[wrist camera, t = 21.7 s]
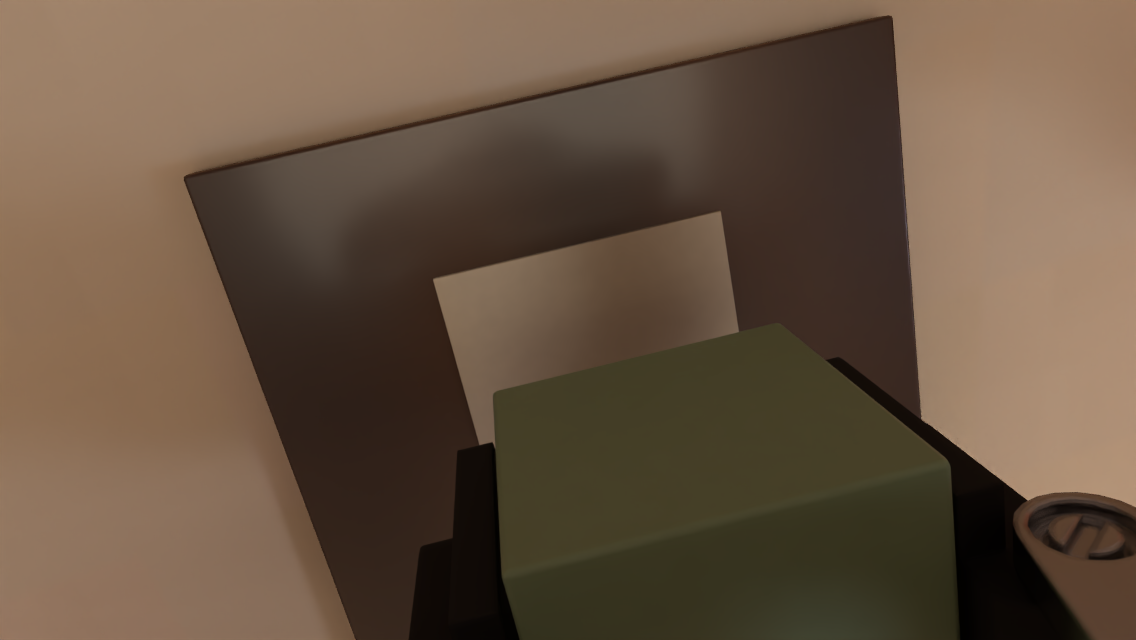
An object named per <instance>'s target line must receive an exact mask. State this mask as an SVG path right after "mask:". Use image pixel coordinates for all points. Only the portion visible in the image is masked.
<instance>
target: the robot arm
mask: <svg viewBox="0 0 1136 640" xmlns="http://www.w3.org/2000/svg"><path fill="white" fill-rule="evenodd" d="M826 361H827V362H828V363H829V364H831V365H832V366H833V367H834V368H836V369H837V370H838V371H839V372H840V373H842V374H843V375H844V376H845V377H847V378H848V379H849V380H850V381H852V382H853V383H854V384H855V385H856V386H858V387H859V388H860V389H861V390H863V391H864V392H865V393H866V394H868V395H869V396H870V397H871V398H872V399H874V400H875V401H876V402H877V403H879V404H880V405H881V406H882V407H884V408H885V409H886V410H887V411H888V412H890V413H891V414H892V415H893V416H895V417H896V418H897V419H898V420H900V421H901V422H902V423H903V424H904V425H906V426H907V427H908V428H909V429H911V430H912V431H913V432H914V433H916V434H917V435H918V436H919V437H920V438H922V439H923V440H924V441H925V442H927V443H928V444H929V445H930V446H932V447H933V448H934V449H935V450H937V451H938V452H939V453H940V454H941V455H943V456H944V457H945V458H946V459H947V460H948V462H949V464H950V467H951V484H952V502H953V519H954V537H955V554H956V572H957V589H958V607H959V624H960V640H1136V507H1134V506H1132V505H1129V504H1127V503H1125V502H1123V501H1120V500H1116V499H1112V498H1109V497H1105V496H1101V495H1096V494H1087V493H1079V492H1064V493H1052V494H1047V495H1042V496H1037V497H1035V498H1033V499H1031V500H1029V501H1027V500H1026V499H1025V498H1024V497H1022V496H1021V495H1020V494H1018V493H1017V492H1016V491H1014V490H1013V489H1012V488H1011V487H1009V486H1008V485H1007V484H1005V483H1004V482H1003V481H1001V480H1000V479H999V478H998V477H996V476H995V475H994V474H992V473H991V472H990V471H989V470H987V469H986V468H985V467H983V466H982V465H981V464H979V463H978V462H977V461H976V460H974V459H973V458H972V457H970V456H969V455H968V454H966V453H965V452H964V451H963V450H961V449H960V448H959V447H957V446H956V445H955V444H953V443H952V442H951V441H950V440H948V439H947V438H946V437H944V436H943V435H942V434H941V433H939V432H938V431H937V430H935V429H934V428H933V427H931V426H930V425H928V424H926V423H925V422H924V421H922V420H921V419H920V418H918V417H917V416H916V415H915V414H913V413H912V412H911V411H909V410H908V409H907V408H905V407H904V406H903V405H902V404H900V403H899V402H898V401H896V400H895V399H894V398H893V397H891V396H890V395H889V394H887V393H886V392H885V391H884V390H882V389H881V388H880V387H878V386H877V385H876V384H874V383H873V382H872V381H871V380H869V379H868V378H867V377H865V376H864V375H863V374H862V373H860V372H859V371H858V370H856V369H855V368H854V367H852V366H851V365H850V364H849V363H847V362H846V361H845V360H843V359H842V358H840V357H836V358H831V359H827V360H826ZM409 640H520V639H519V635H518V632H517V628H516V625H515V621H514V618H513V614H512V611H511V607H510V604H509V601H508V597H507V594H506V590H505V587H504V583H503V580H502V572H501V552H500V532H499V512H498V492H497V472H496V452H495V447H494V444H493V442H490V443H486V444H482V445H478V446H474V447H470V448H466V449H462V450H458V451H457V463H456V482H455V501H454V520H453V538H451V539H447V540H443V541H439V542H435V543H431V544H427V545H423V546H422V547H420V551H419V557H418V565H417V574H416V582H415V590H414V598H413V607H412V615H411V623H410V631H409Z"/></svg>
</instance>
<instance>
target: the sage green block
mask: <svg viewBox="0 0 1136 640" xmlns="http://www.w3.org/2000/svg"><path fill="white" fill-rule="evenodd" d="M493 412H494V432H495V452H496V472H497V492H498V512H499V532H500V552H501V572H502V580H503V583H504V587H505V590H506V594H507V597H508V601H509V604H510V607H511V611H512V614H513V618H514V621H515V625H516V628H517V632H518V635H519V639H520V640H960V624H959V607H958V589H957V572H956V554H955V537H954V519H953V502H952V484H951V467H950V464H949V462H948V460H947V459H946V458H945V457H944V456H943V455H941V454H940V453H939V452H938V451H937V450H935V449H934V448H933V447H932V446H930V445H929V444H928V443H927V442H925V441H924V440H923V439H922V438H920V437H919V436H918V435H917V434H916V433H914V432H913V431H912V430H911V429H909V428H908V427H907V426H906V425H904V424H903V423H902V422H901V421H900V420H898V419H897V418H896V417H895V416H893V415H892V414H891V413H890V412H888V411H887V410H886V409H885V408H884V407H882V406H881V405H880V404H879V403H877V402H876V401H875V400H874V399H872V398H871V397H870V396H869V395H868V394H866V393H865V392H864V391H863V390H861V389H860V388H859V387H858V386H856V385H855V384H854V383H853V382H852V381H850V380H849V379H848V378H847V377H845V376H844V375H843V374H842V373H840V372H839V371H838V370H837V369H836V368H834V367H833V366H832V365H831V364H829V363H828V362H827V361H826V360H824V359H823V358H822V357H821V356H820V355H818V354H817V353H816V352H815V351H813V350H812V349H811V348H810V347H808V346H807V345H806V344H805V343H804V342H802V341H801V340H800V339H799V338H797V337H796V336H795V335H794V334H792V333H791V332H790V331H789V330H788V329H786V328H785V327H784V326H783V325H781V324H779V323H774V324H770V325H766V326H762V327H758V328H753V329H749V330H745V331H741V332H737V333H733V334H729V335H725V336H721V337H717V338H712V339H708V340H704V341H700V342H696V343H692V344H688V345H684V346H680V347H675V348H671V349H667V350H663V351H659V352H655V353H651V354H647V355H643V356H639V357H634V358H630V359H626V360H622V361H618V362H614V363H610V364H606V365H602V366H597V367H593V368H589V369H585V370H581V371H577V372H573V373H569V374H565V375H560V376H556V377H552V378H548V379H544V380H540V381H536V382H532V383H528V384H524V385H519V386H515V387H511V388H507V389H503V390H499V391H496V392H495V393H493Z"/></svg>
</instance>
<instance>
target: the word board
mask: <svg viewBox="0 0 1136 640" xmlns="http://www.w3.org/2000/svg"><path fill="white" fill-rule="evenodd" d="M184 182H185V184H186V187H187V190H188V192H189V195H190V198H191V200H192V203H193V206H194V208H195V211H196V214H197V216H198V219H199V222H200V224H201V227H202V230H203V232H204V235H205V238H206V241H207V243H208V246H209V249H210V251H211V254H212V257H213V259H214V262H215V265H216V267H217V270H218V273H219V275H220V278H221V281H222V283H223V286H224V289H225V291H226V294H227V297H228V299H229V302H230V305H231V307H232V310H233V313H234V315H235V318H236V321H237V323H238V326H239V329H240V331H241V334H242V337H243V339H244V342H245V345H246V347H247V350H248V353H249V355H250V358H251V361H252V364H253V366H254V369H255V372H256V374H257V377H258V380H259V382H260V385H261V388H262V390H263V393H264V396H265V398H266V401H267V404H268V406H269V409H270V412H271V414H272V417H273V420H274V422H275V425H276V428H277V430H278V433H279V436H280V438H281V441H282V444H283V446H284V449H285V452H286V454H287V457H288V460H289V462H290V465H291V468H292V470H293V473H294V476H295V479H296V481H297V484H298V487H299V489H300V492H301V495H302V497H303V500H304V503H305V505H306V508H307V511H308V513H309V516H310V519H311V521H312V524H313V527H314V529H315V532H316V535H317V537H318V540H319V543H320V545H321V548H322V551H323V553H324V556H325V559H326V561H327V564H328V567H329V569H330V572H331V575H332V577H333V580H334V583H335V585H336V588H337V591H338V594H339V596H340V599H341V602H342V604H343V607H344V610H345V612H346V615H347V618H348V620H349V623H350V626H351V628H352V631H353V634H354V636H355V639H356V640H409V631H410V623H411V615H412V607H413V598H414V590H415V582H416V574H417V565H418V557H419V551H420V547H422V546H423V545H427V544H431V543H435V542H439V541H443V540H447V539H451V538H453V520H454V501H455V482H456V463H457V451H458V450H462V449H466V448H470V447H474V446H478V445H482V444H486V443H490V442H493V444H494V447H495V432H494V412H493V393H495V392H496V391H499V390H503V389H507V388H511V387H515V386H519V385H524V384H528V383H532V382H536V381H540V380H544V379H548V378H552V377H556V376H560V375H565V374H569V373H573V372H577V371H581V370H585V369H589V368H593V367H597V366H602V365H606V364H610V363H614V362H618V361H622V360H626V359H630V358H634V357H639V356H643V355H647V354H651V353H655V352H659V351H663V350H667V349H671V348H675V347H680V346H684V345H688V344H692V343H696V342H700V341H704V340H708V339H712V338H717V337H721V336H725V335H729V334H733V333H737V332H741V331H745V330H749V329H753V328H758V327H762V326H766V325H770V324H774V323H779V324H781V325H783V326H784V327H785V328H786V329H788V330H789V331H790V332H791V333H792V334H794V335H795V336H796V337H797V338H799V339H800V340H801V341H802V342H804V343H805V344H806V345H807V346H808V347H810V348H811V349H812V350H813V351H815V352H816V353H817V354H818V355H820V356H821V357H822V358H823V359H824V360H827V359H831V358H836V357H840V358H842V359H843V360H845V361H846V362H847V363H849V364H850V365H851V366H852V367H854V368H855V369H856V370H858V371H859V372H860V373H862V374H863V375H864V376H865V377H867V378H868V379H869V380H871V381H872V382H873V383H874V384H876V385H877V386H878V387H880V388H881V389H882V390H884V391H885V392H886V393H887V394H889V395H890V396H891V397H893V398H894V399H895V400H896V401H898V402H899V403H900V404H902V405H903V406H904V407H905V408H907V409H908V410H909V411H911V412H912V413H913V414H915V415H916V416H917V417H918V418H920V419H921V409H920V395H919V381H918V367H917V353H916V339H915V325H914V311H913V297H912V283H911V269H910V255H909V241H908V227H907V213H906V199H905V185H904V171H903V157H902V143H901V129H900V115H899V101H898V87H897V73H896V59H895V45H894V31H893V18H892V16H889V15H888V16H881V17H876V18H871V19H867V20H862V21H858V22H854V23H849V24H845V25H840V26H836V27H832V28H827V29H823V30H818V31H814V32H810V33H805V34H801V35H796V36H792V37H788V38H783V39H779V40H774V41H770V42H766V43H761V44H757V45H753V46H748V47H744V48H739V49H735V50H731V51H726V52H722V53H717V54H713V55H709V56H704V57H700V58H695V59H691V60H687V61H682V62H678V63H673V64H669V65H665V66H660V67H656V68H651V69H647V70H643V71H638V72H634V73H630V74H625V75H621V76H616V77H612V78H608V79H603V80H599V81H594V82H590V83H586V84H581V85H577V86H572V87H568V88H564V89H559V90H555V91H550V92H546V93H542V94H537V95H533V96H528V97H524V98H520V99H515V100H511V101H507V102H502V103H498V104H493V105H489V106H485V107H480V108H476V109H471V110H467V111H463V112H458V113H454V114H449V115H445V116H441V117H436V118H432V119H427V120H423V121H419V122H414V123H410V124H405V125H401V126H397V127H392V128H388V129H384V130H379V131H375V132H370V133H366V134H362V135H357V136H353V137H348V138H344V139H340V140H335V141H331V142H326V143H322V144H318V145H313V146H309V147H304V148H300V149H296V150H291V151H287V152H282V153H278V154H274V155H269V156H265V157H261V158H256V159H252V160H247V161H243V162H239V163H234V164H230V165H225V166H221V167H217V168H212V169H208V170H203V171H199V172H195V173H192V174H189V175H186V176H185V177H184Z"/></svg>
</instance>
